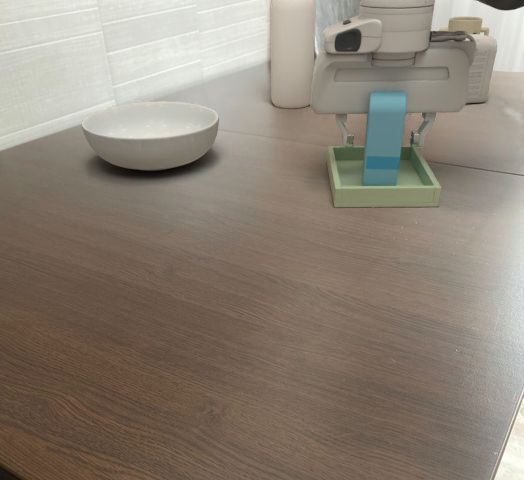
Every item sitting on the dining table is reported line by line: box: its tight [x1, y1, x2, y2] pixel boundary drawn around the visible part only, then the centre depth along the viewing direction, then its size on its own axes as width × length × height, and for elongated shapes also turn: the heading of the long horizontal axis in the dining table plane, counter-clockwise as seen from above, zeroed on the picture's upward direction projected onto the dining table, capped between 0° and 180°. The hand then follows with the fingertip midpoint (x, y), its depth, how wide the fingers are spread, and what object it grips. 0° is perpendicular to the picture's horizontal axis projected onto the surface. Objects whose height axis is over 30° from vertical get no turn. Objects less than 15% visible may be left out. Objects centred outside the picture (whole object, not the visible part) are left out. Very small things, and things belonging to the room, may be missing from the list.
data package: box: [362, 91, 407, 186], centre depth 76 cm, size 12×4×12 cm, turn 171°
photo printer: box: [450, 33, 498, 104], centre depth 111 cm, size 10×4×12 cm, turn 102°
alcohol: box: [269, 0, 317, 109], centre depth 108 cm, size 9×9×30 cm
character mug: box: [438, 16, 490, 41], centre depth 125 cm, size 11×7×13 cm, turn 84°
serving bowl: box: [80, 100, 220, 172], centre depth 87 cm, size 21×21×7 cm
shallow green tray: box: [326, 144, 442, 208], centre depth 79 cm, size 14×18×3 cm
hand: (381, 146), depth 77 cm, fingers open, 8 cm apart
